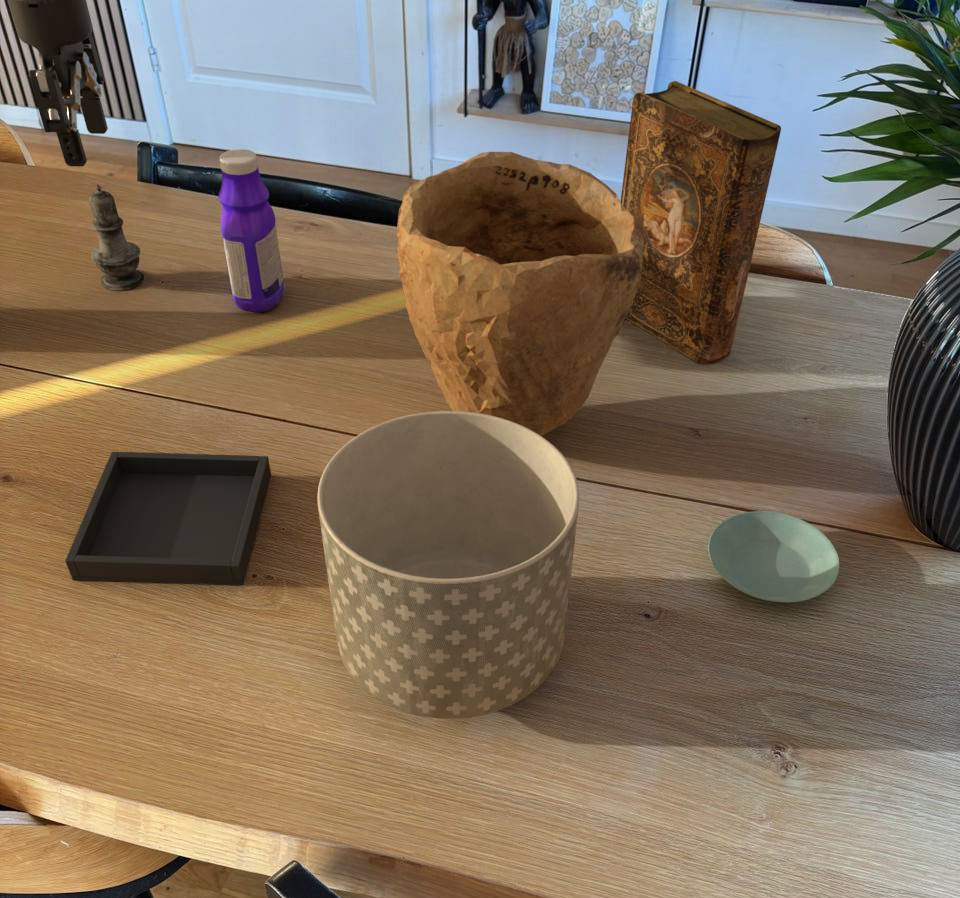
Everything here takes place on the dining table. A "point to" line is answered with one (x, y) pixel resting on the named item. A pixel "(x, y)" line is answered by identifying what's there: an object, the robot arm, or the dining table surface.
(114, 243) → the chess piece
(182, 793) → the dining table surface
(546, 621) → the planter
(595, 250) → the tan textured vessel
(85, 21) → the robot arm
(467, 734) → the dining table surface
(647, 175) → the book
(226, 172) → the bottle
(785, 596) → the saucer
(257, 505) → the tray
